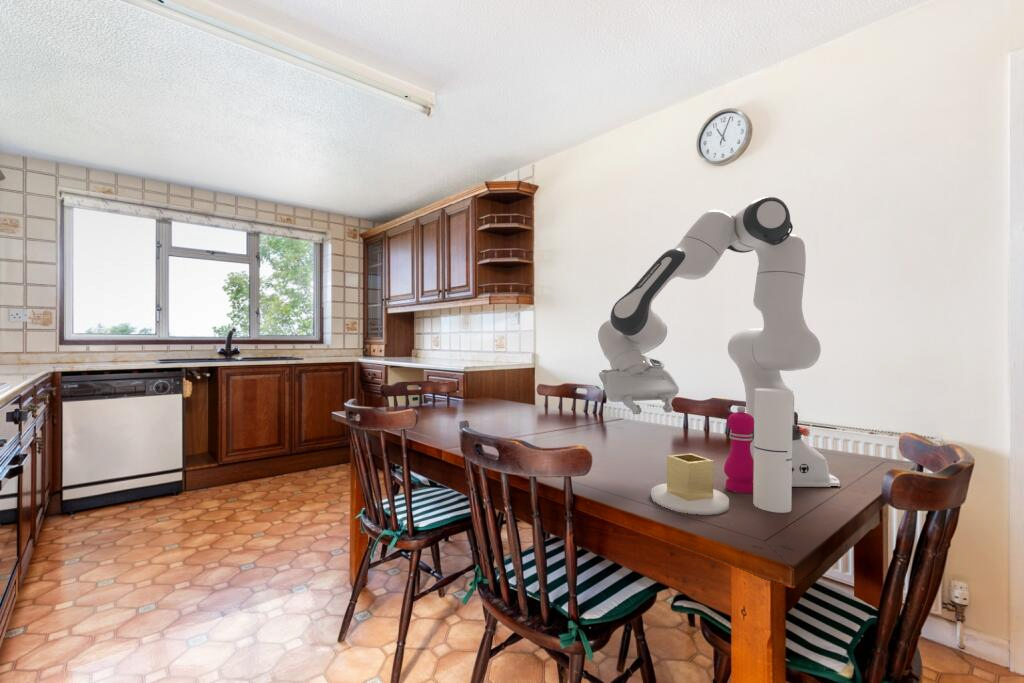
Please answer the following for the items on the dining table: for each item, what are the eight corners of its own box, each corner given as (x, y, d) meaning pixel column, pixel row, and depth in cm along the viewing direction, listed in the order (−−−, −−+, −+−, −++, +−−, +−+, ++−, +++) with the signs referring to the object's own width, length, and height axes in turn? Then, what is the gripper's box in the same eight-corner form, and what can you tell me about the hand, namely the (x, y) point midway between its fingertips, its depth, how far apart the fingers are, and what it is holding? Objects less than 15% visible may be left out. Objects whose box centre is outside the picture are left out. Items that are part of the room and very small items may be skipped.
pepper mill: (753, 486, 113) (754, 404, 113) (760, 495, 106) (761, 408, 106) (721, 483, 115) (722, 403, 115) (726, 492, 108) (727, 407, 108)
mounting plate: (717, 491, 108) (717, 459, 108) (739, 517, 93) (739, 480, 93) (646, 487, 111) (647, 456, 111) (656, 511, 95) (657, 475, 95)
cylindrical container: (746, 500, 102) (747, 388, 102) (777, 500, 103) (778, 388, 103) (766, 512, 95) (767, 392, 95) (799, 512, 96) (800, 392, 96)
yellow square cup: (666, 491, 104) (667, 455, 104) (690, 488, 106) (691, 453, 106) (688, 501, 97) (688, 463, 97) (713, 497, 100) (713, 460, 100)
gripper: (601, 361, 117) (623, 406, 108) (667, 361, 124) (693, 402, 115) (592, 378, 121) (612, 421, 112) (656, 376, 128) (680, 417, 119)
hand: (654, 412), depth 113 cm, fingers open, 8 cm apart
